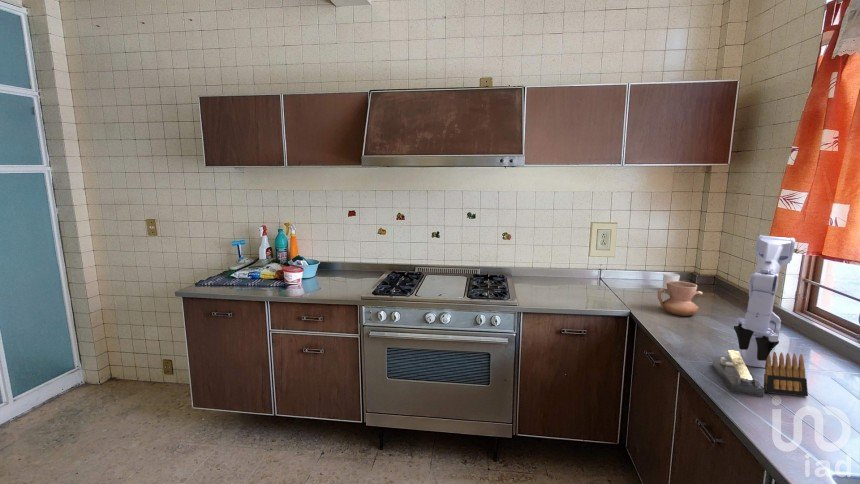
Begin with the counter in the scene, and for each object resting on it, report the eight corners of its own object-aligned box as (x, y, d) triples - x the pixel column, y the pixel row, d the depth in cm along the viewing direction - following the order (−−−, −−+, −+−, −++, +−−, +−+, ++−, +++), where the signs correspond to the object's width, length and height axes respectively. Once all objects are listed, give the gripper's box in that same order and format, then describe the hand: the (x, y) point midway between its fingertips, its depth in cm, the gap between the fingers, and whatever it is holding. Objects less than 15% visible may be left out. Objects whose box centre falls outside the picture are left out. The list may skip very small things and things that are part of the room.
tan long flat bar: (727, 352, 139) (727, 349, 139) (737, 353, 138) (738, 350, 138) (741, 382, 127) (742, 379, 126) (753, 384, 126) (754, 381, 125)
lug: (720, 362, 141) (720, 356, 141) (739, 365, 139) (740, 359, 139) (721, 364, 139) (722, 359, 139) (742, 367, 137) (742, 361, 137)
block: (712, 364, 145) (713, 353, 144) (739, 368, 142) (741, 356, 141) (731, 392, 127) (733, 378, 126) (763, 397, 124) (765, 383, 124)
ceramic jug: (696, 310, 201) (699, 281, 199) (703, 320, 188) (706, 289, 186) (654, 306, 208) (656, 278, 206) (657, 315, 195) (660, 285, 192)
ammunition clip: (803, 395, 126) (802, 353, 128) (808, 396, 124) (806, 354, 126) (763, 391, 128) (762, 350, 129) (767, 392, 126) (766, 351, 127)
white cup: (658, 290, 235) (660, 273, 233) (669, 289, 237) (671, 272, 236) (669, 294, 228) (672, 276, 226) (681, 293, 230) (683, 275, 228)
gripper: (729, 304, 136) (723, 344, 138) (763, 320, 121) (756, 364, 124) (751, 304, 136) (745, 345, 138) (788, 321, 121) (780, 365, 124)
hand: (752, 354), depth 131 cm, fingers open, 7 cm apart
